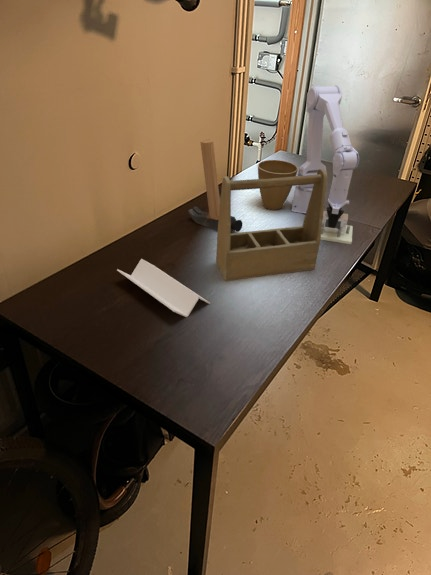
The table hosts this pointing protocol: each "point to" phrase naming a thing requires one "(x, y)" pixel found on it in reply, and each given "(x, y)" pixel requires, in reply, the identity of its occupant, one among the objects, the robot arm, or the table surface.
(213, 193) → the hammer
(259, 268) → the caddy
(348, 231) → the peg board
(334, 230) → the block
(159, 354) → the table surface
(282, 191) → the plant pot
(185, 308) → the z bracket
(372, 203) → the table surface
